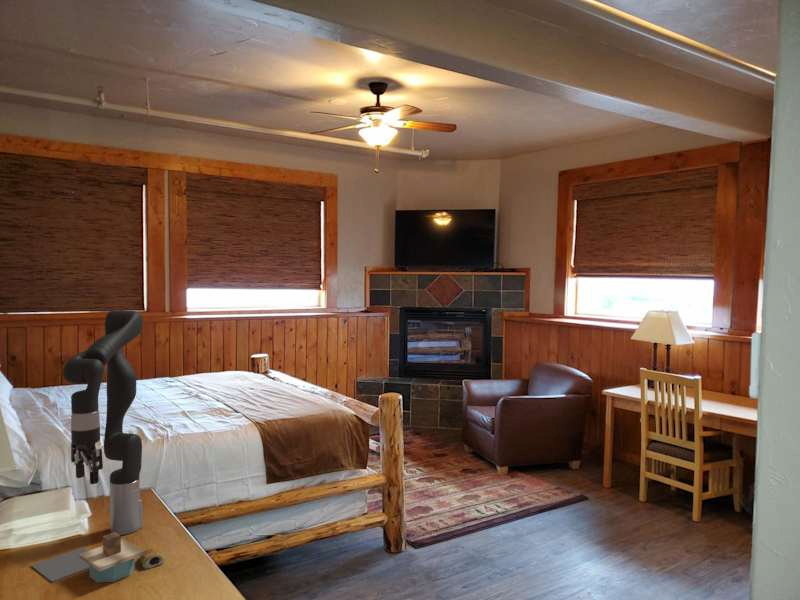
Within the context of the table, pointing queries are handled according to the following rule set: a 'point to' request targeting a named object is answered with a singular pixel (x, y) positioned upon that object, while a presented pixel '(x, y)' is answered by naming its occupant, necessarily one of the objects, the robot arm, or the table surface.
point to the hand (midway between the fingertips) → (87, 480)
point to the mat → (62, 565)
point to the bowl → (112, 572)
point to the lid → (111, 552)
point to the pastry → (152, 558)
